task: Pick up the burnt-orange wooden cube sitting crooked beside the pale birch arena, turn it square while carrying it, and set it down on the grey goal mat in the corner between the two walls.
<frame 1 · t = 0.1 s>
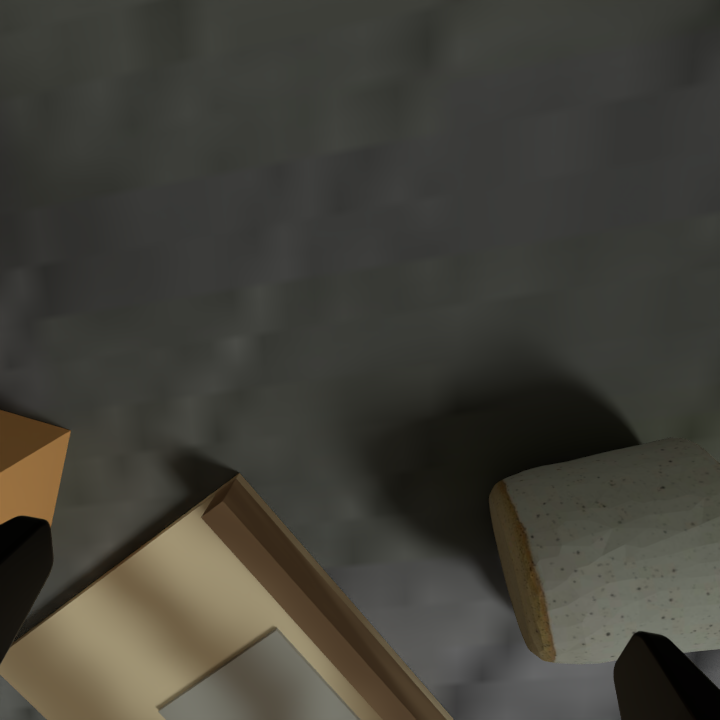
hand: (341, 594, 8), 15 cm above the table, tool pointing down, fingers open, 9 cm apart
arena: (234, 694, 27), on the table
ceramic mug: (582, 528, 25), on the table
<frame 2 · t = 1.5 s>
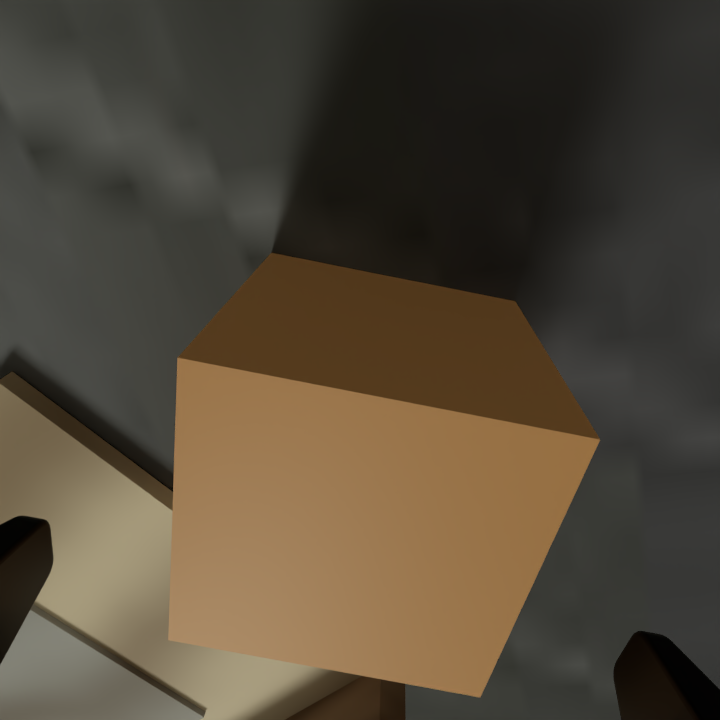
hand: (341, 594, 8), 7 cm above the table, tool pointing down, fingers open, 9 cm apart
cube: (370, 382, 14), on the table
arena: (83, 656, 20), on the table
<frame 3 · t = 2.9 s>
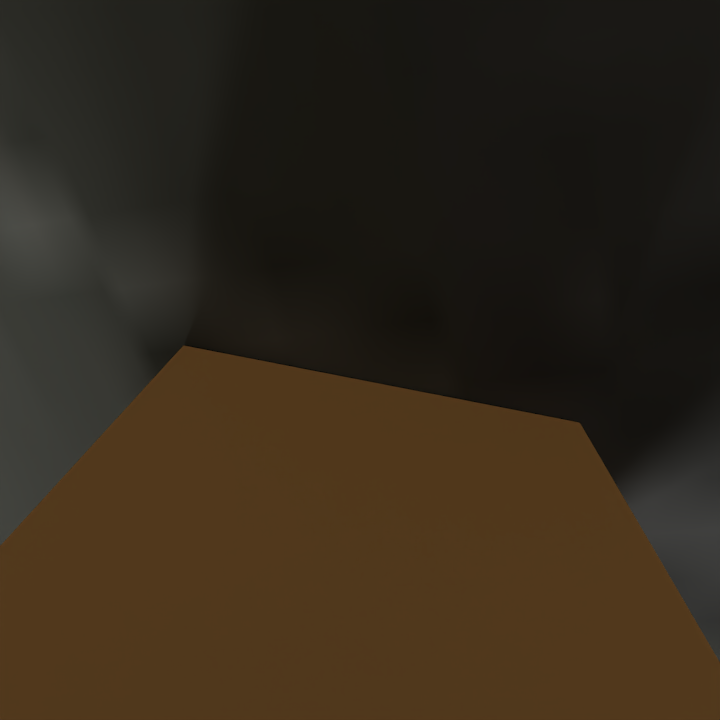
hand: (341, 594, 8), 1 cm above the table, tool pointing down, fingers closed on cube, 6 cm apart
cube: (348, 533, 9), on the table, touching gripper
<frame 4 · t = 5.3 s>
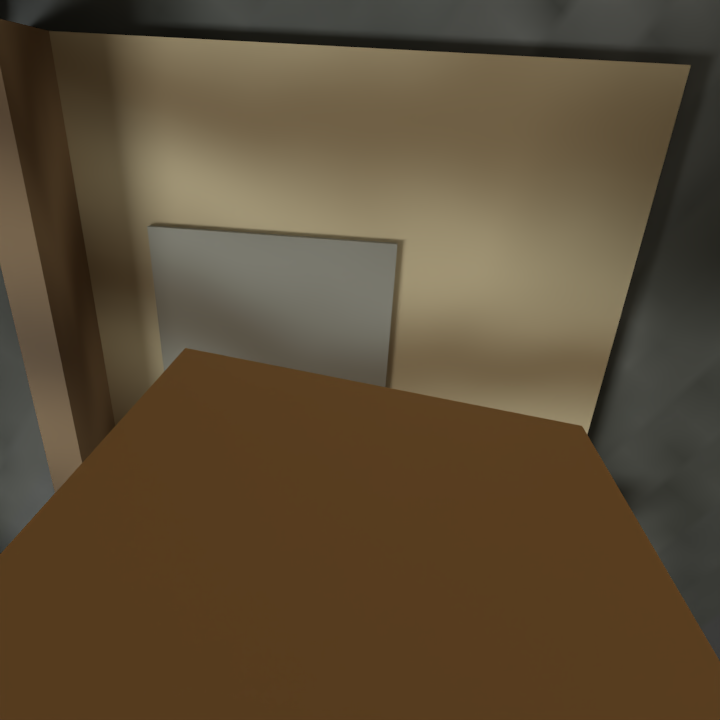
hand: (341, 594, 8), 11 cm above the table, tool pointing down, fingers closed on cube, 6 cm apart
cube: (349, 536, 9), point 9 cm above the table, touching gripper
arena: (330, 324, 18), on the table
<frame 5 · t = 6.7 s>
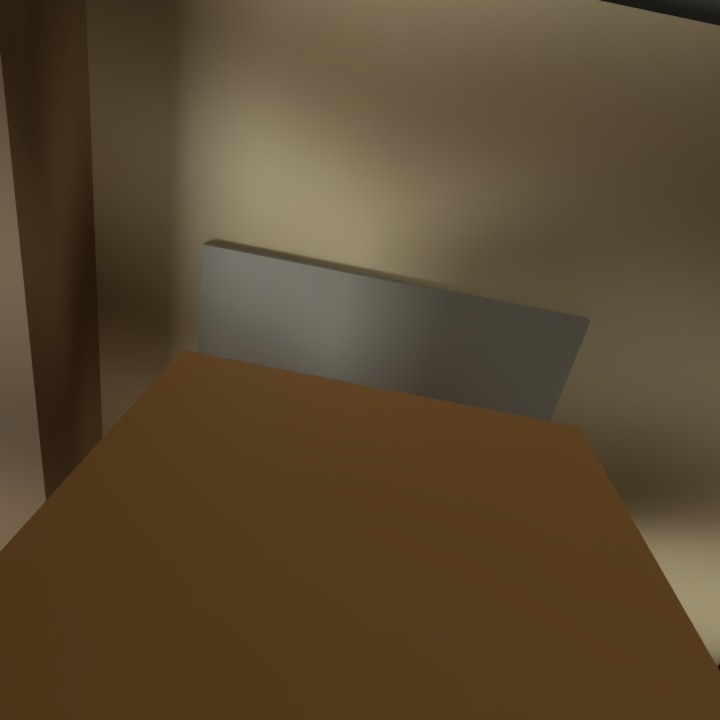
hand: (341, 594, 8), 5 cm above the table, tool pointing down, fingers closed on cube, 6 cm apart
cube: (347, 537, 9), point 4 cm above the table, touching gripper
arena: (446, 410, 12), on the table
when the fingers open (4 cm above the table, at t = 7.9 s): cube drops 2 cm, resting on arena.
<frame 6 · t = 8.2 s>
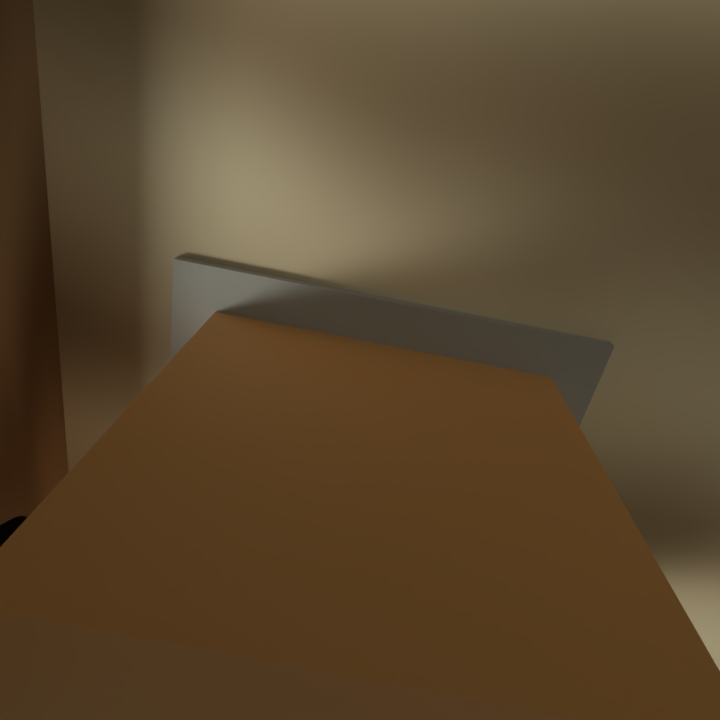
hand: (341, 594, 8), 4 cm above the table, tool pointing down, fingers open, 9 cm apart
cube: (354, 478, 10), point 1 cm above the table, touching arena
arena: (450, 441, 11), on the table
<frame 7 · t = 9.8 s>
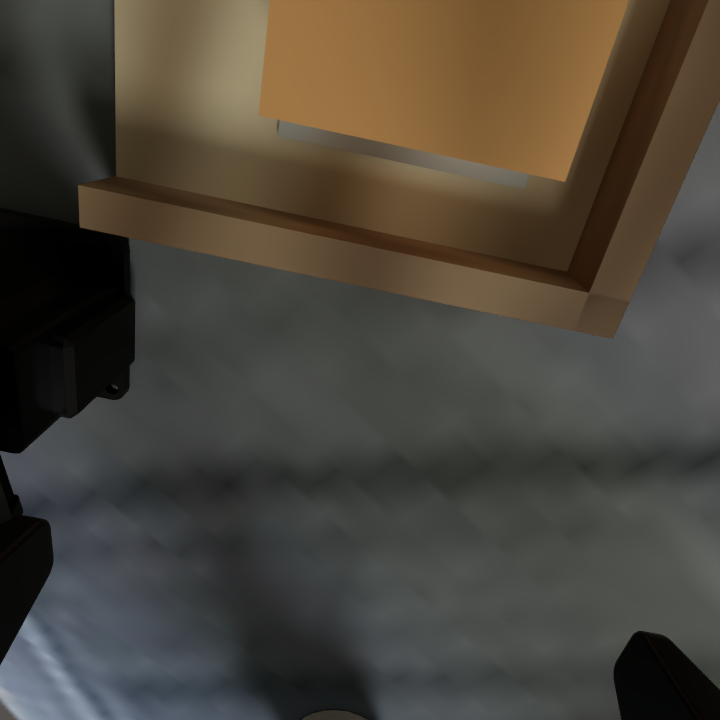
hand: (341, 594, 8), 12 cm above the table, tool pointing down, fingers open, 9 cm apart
cube: (433, 16, 14), point 1 cm above the table, touching arena
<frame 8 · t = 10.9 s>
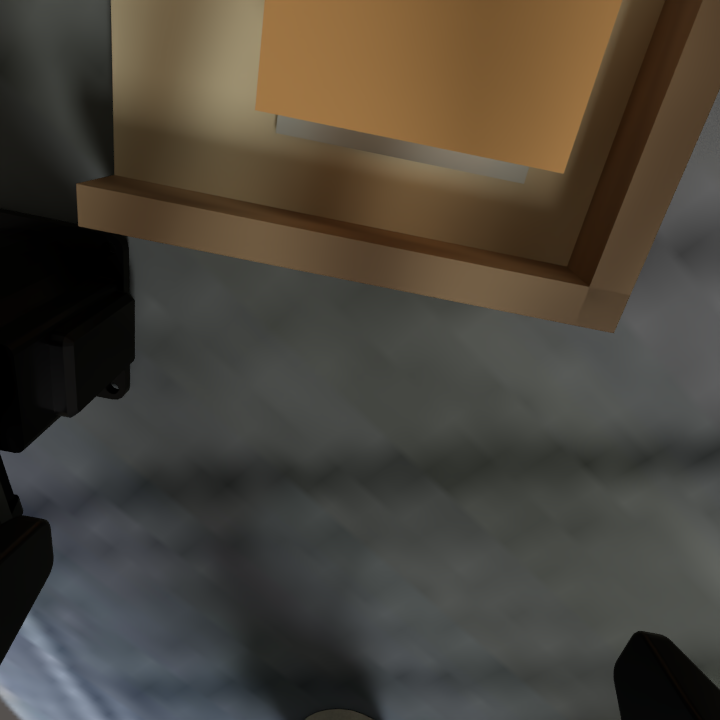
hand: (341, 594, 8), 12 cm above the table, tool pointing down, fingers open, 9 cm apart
cube: (430, 11, 14), point 1 cm above the table, touching arena
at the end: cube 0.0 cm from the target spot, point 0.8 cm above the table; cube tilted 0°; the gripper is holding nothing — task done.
